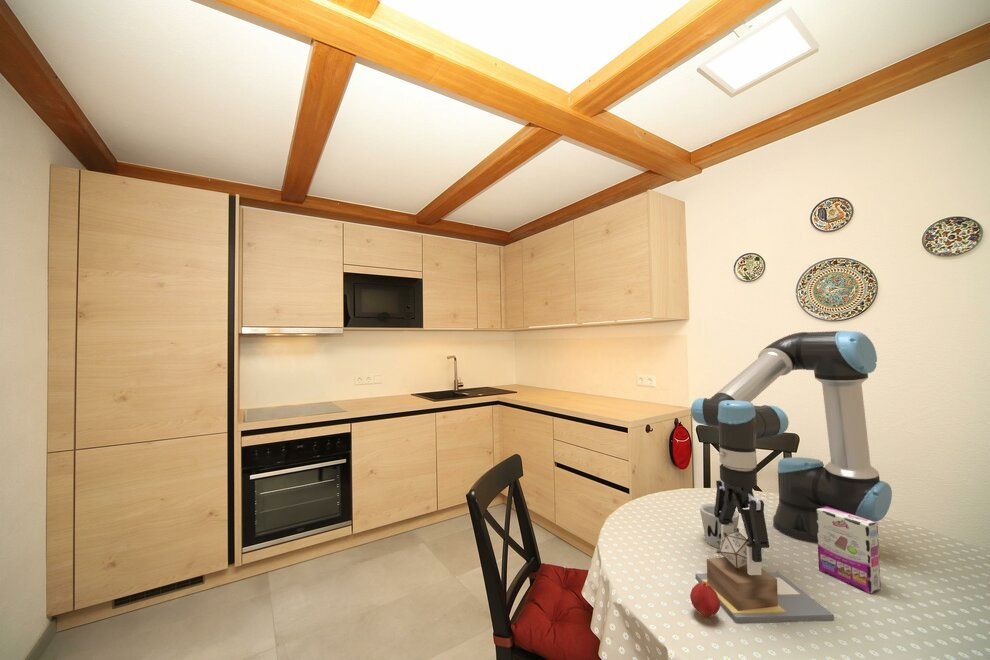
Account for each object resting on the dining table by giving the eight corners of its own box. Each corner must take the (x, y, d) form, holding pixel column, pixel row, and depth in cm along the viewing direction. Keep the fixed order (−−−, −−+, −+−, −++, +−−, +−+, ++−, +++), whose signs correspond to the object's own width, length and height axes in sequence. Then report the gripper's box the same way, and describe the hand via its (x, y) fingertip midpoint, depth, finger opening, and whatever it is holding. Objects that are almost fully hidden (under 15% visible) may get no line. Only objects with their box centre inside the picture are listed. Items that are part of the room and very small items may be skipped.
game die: (748, 586, 90) (775, 564, 85) (712, 570, 91) (736, 549, 86) (738, 549, 98) (762, 528, 92) (705, 536, 99) (726, 514, 93)
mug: (702, 548, 114) (701, 514, 115) (697, 526, 128) (696, 495, 129) (743, 555, 111) (742, 520, 111) (733, 531, 124) (732, 500, 125)
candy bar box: (882, 589, 95) (879, 522, 96) (871, 595, 93) (868, 526, 94) (828, 565, 105) (826, 505, 106) (817, 570, 103) (815, 508, 104)
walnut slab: (743, 579, 97) (742, 555, 97) (777, 606, 87) (777, 579, 87) (707, 583, 95) (706, 558, 96) (738, 610, 86) (737, 583, 86)
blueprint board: (778, 576, 101) (777, 570, 101) (833, 620, 85) (833, 613, 85) (695, 578, 100) (695, 572, 100) (735, 623, 84) (735, 616, 84)
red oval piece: (685, 608, 89) (684, 573, 89) (709, 607, 89) (708, 571, 89) (701, 627, 83) (700, 589, 83) (726, 625, 83) (725, 587, 84)
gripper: (697, 453, 103) (699, 539, 102) (753, 482, 81) (757, 591, 81) (724, 453, 103) (727, 538, 102) (788, 482, 82) (792, 590, 81)
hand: (740, 562), depth 91 cm, fingers closed on game die, 9 cm apart
